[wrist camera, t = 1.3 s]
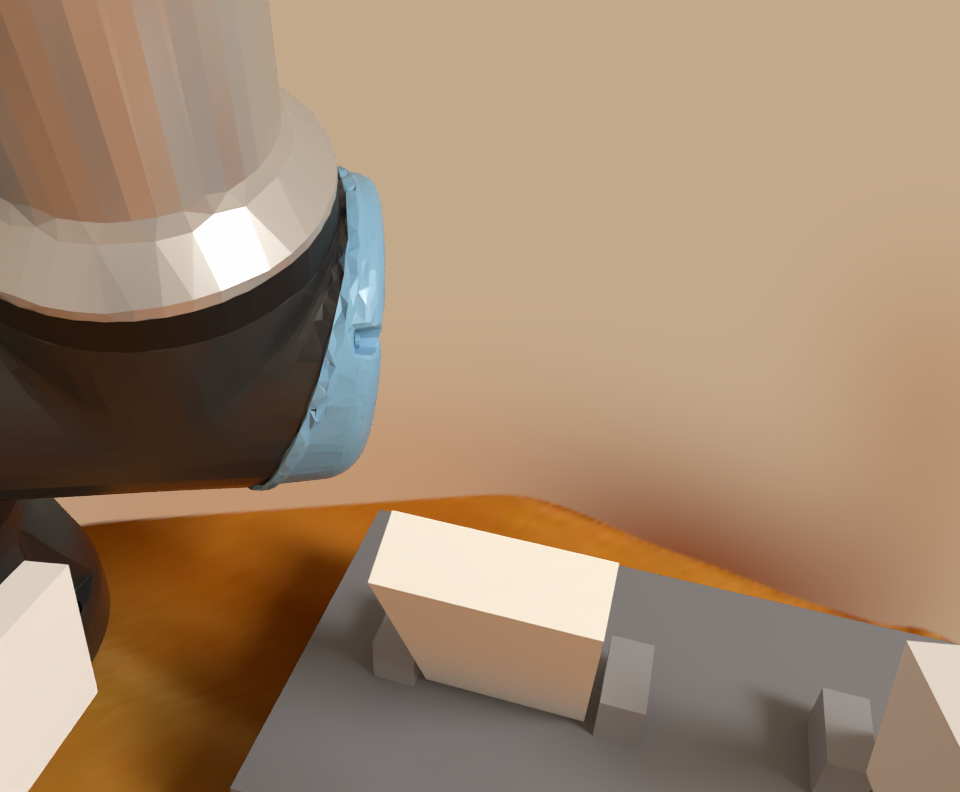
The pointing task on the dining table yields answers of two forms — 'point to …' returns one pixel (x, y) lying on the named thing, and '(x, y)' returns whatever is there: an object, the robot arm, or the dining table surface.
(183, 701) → the dining table surface
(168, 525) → the dining table surface
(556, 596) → the lever
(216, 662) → the dining table surface
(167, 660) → the dining table surface
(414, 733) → the switch unit
